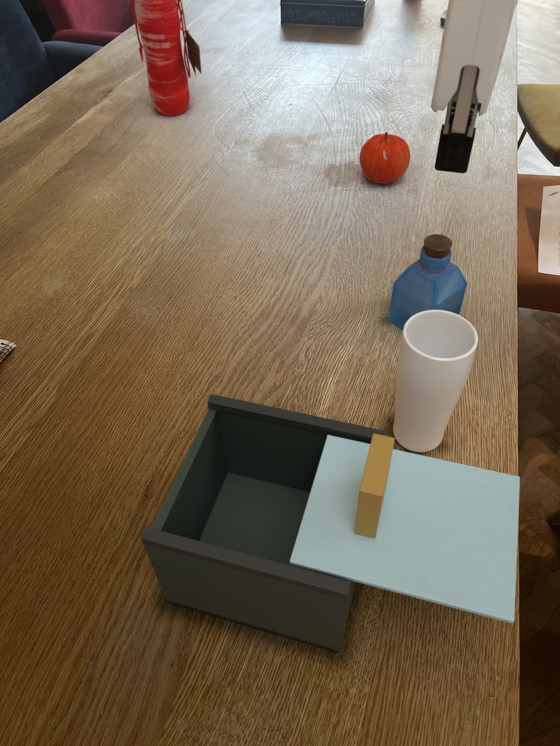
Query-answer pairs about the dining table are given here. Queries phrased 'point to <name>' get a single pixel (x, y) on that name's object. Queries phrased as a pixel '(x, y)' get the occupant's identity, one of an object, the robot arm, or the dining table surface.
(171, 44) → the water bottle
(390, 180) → the apple
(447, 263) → the perfume bottle
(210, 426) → the display box
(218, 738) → the dining table surface
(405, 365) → the drinking glass
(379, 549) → the box lid
